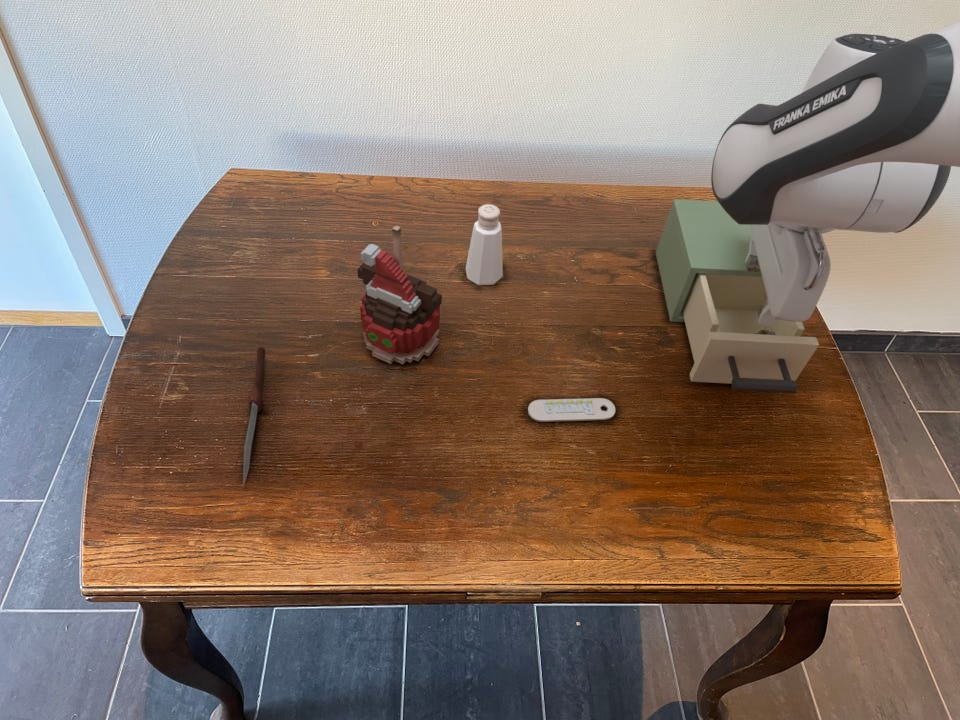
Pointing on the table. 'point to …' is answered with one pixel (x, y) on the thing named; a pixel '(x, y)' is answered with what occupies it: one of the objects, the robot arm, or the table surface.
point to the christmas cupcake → (397, 307)
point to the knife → (254, 408)
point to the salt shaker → (486, 248)
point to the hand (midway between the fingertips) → (758, 293)
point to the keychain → (571, 409)
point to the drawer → (742, 336)
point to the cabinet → (699, 249)
